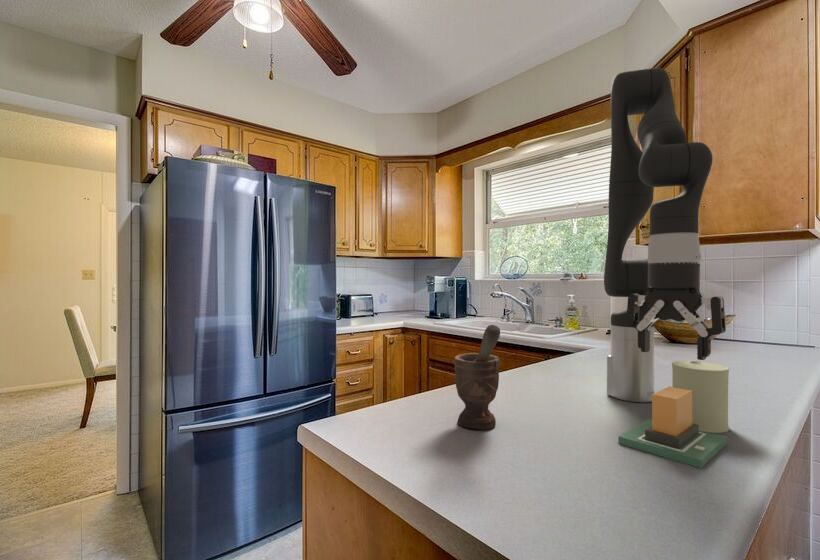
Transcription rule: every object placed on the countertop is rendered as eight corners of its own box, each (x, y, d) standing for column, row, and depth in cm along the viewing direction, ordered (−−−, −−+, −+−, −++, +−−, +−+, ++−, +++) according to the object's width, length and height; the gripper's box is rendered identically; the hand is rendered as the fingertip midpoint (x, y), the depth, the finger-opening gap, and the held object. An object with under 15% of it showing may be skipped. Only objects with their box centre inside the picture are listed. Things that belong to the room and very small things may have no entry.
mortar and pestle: (521, 430, 75) (522, 323, 75) (489, 441, 70) (490, 326, 70) (476, 414, 85) (476, 318, 85) (445, 422, 80) (445, 320, 80)
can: (718, 419, 82) (718, 360, 82) (738, 435, 74) (738, 369, 74) (665, 414, 85) (666, 357, 85) (678, 429, 77) (679, 365, 77)
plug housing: (652, 429, 69) (652, 394, 69) (668, 419, 74) (669, 386, 74) (676, 436, 66) (676, 399, 66) (692, 424, 71) (692, 390, 71)
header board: (618, 443, 70) (618, 409, 70) (649, 424, 79) (650, 395, 79) (701, 468, 61) (701, 429, 61) (726, 444, 70) (726, 410, 70)
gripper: (620, 261, 73) (619, 352, 73) (717, 259, 62) (716, 365, 62) (637, 262, 78) (637, 347, 78) (730, 260, 67) (729, 359, 67)
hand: (672, 355), depth 70 cm, fingers open, 8 cm apart
